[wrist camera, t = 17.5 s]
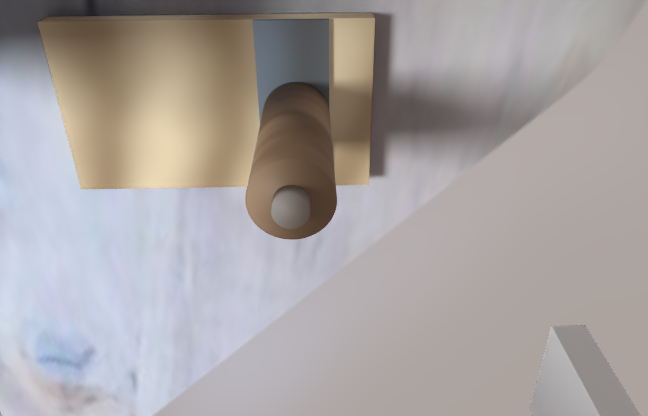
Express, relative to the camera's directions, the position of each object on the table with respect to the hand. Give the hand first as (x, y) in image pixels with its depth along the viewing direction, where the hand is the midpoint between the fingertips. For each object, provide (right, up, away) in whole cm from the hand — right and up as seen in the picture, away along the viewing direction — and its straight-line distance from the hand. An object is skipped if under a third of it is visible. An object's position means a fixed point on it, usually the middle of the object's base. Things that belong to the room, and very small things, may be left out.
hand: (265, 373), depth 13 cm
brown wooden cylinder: (0, +9, +15) cm, 18 cm away
